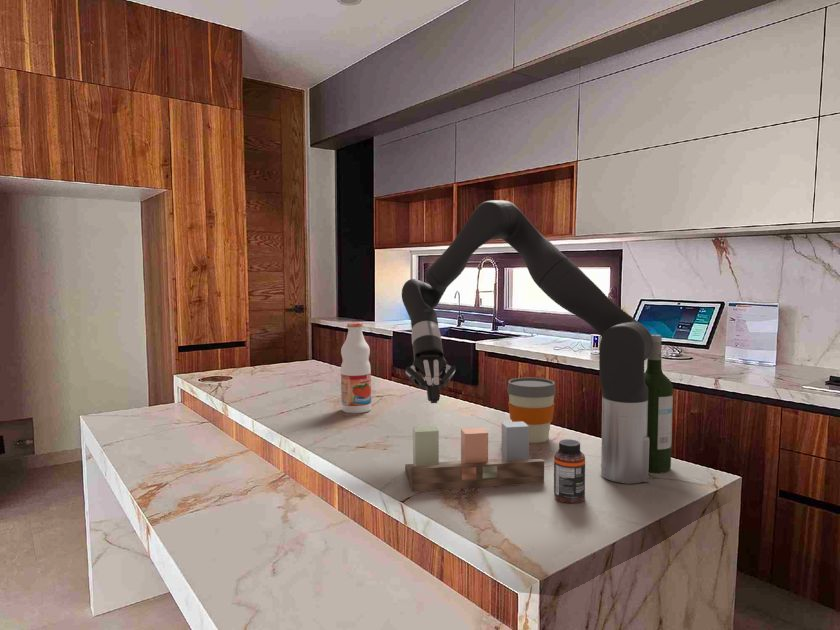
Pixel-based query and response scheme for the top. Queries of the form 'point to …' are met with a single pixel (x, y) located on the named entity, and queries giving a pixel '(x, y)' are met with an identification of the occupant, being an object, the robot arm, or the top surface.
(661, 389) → the wine bottle
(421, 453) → the sage key
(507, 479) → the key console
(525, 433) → the slate key
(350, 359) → the fruit juice
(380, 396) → the top surface
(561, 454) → the supplement bottle
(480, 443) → the terracotta key
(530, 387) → the reusable coffee cup
